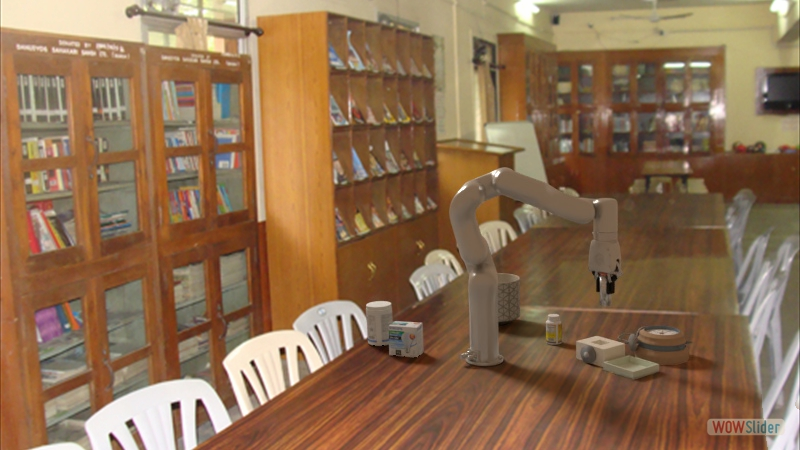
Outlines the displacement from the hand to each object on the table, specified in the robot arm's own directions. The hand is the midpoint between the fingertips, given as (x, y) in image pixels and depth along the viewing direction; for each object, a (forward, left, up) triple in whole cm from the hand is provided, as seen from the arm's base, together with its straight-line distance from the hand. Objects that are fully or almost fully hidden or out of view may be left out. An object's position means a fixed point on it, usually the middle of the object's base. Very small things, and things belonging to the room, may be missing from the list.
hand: (605, 292), depth 253 cm
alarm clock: (+17, -5, -24) cm, 30 cm away
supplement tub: (-46, +66, -24) cm, 83 cm away
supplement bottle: (+2, +26, -24) cm, 35 cm away
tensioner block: (0, +2, -23) cm, 23 cm away
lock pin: (0, 0, -4) cm, 4 cm away
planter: (+4, +60, -24) cm, 64 cm away
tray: (-1, -11, -23) cm, 26 cm away
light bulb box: (-46, +49, -24) cm, 71 cm away
